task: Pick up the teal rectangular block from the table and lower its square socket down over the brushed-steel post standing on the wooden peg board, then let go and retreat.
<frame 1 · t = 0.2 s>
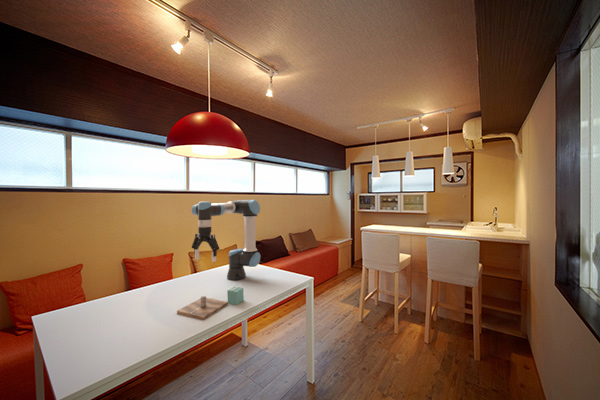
hand: (205, 260, 148), 27 cm above the table, fingers open, 13 cm apart
teal rectangular block: (235, 301, 151), on the table
wooden peg board: (203, 308, 142), on the table
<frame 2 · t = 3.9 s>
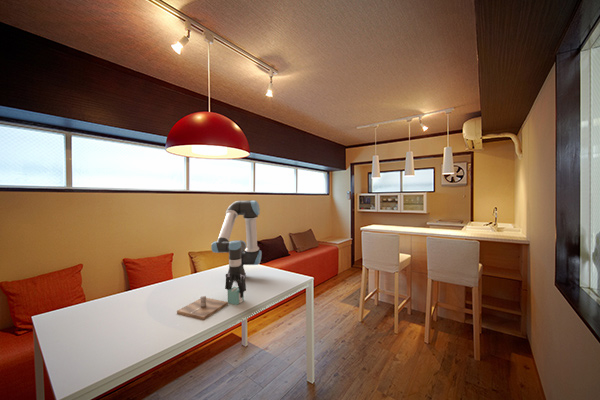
hand: (235, 301, 151), 0 cm above the table, fingers closed on teal rectangular block, 7 cm apart
teal rectangular block: (235, 301, 151), on the table, touching gripper
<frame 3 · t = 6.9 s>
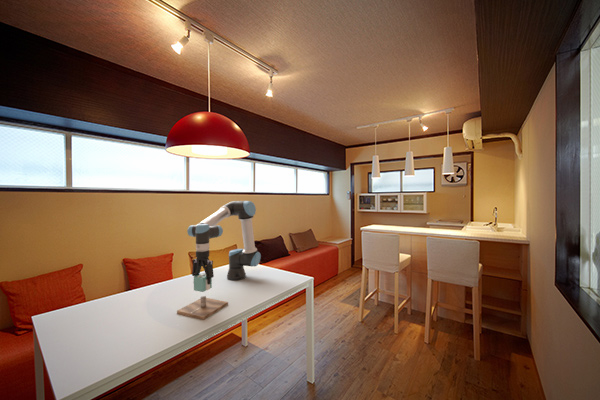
hand: (202, 288, 142), 12 cm above the table, fingers closed on teal rectangular block, 7 cm apart
teal rectangular block: (202, 289, 142), point 12 cm above the table, touching gripper
when the fingers open (2 cm above the table, at t = 9.7 s): teal rectangular block stays where it is, resting on wooden peg board.
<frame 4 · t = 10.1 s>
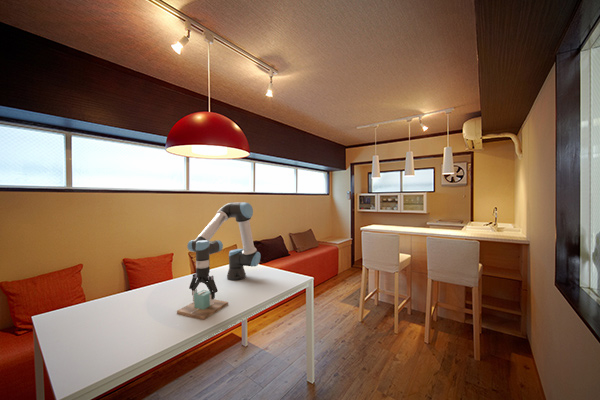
hand: (203, 302, 142), 4 cm above the table, fingers open, 12 cm apart
teal rectangular block: (203, 306, 142), point 1 cm above the table, touching wooden peg board
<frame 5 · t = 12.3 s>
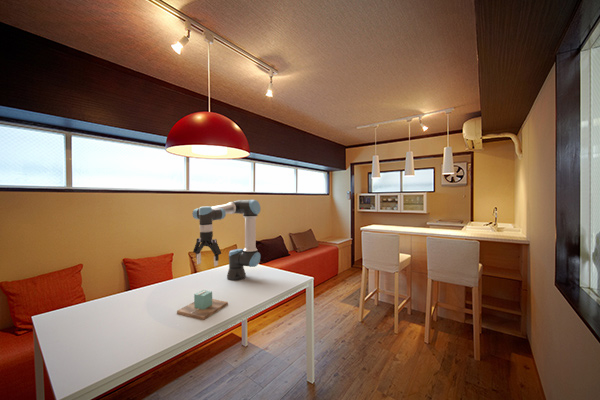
hand: (207, 264, 149), 24 cm above the table, fingers open, 13 cm apart
nothing on the table moved.
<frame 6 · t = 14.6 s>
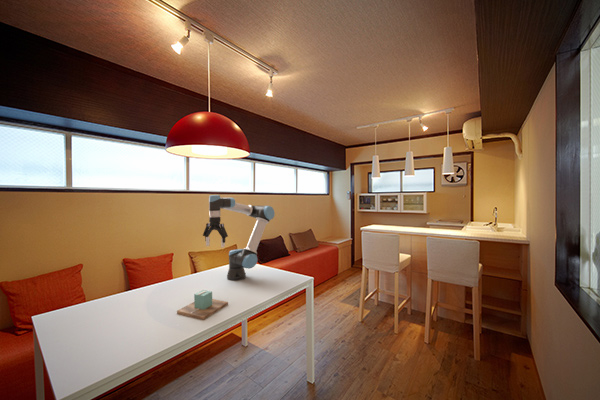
hand: (215, 246, 169), 32 cm above the table, fingers open, 13 cm apart
nothing on the table moved.
at the end: teal rectangular block 0.1 cm off-centre on the wooden peg board, point 1.5 cm above the wooden peg board's base; teal rectangular block tilted 0°; the gripper is holding nothing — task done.
